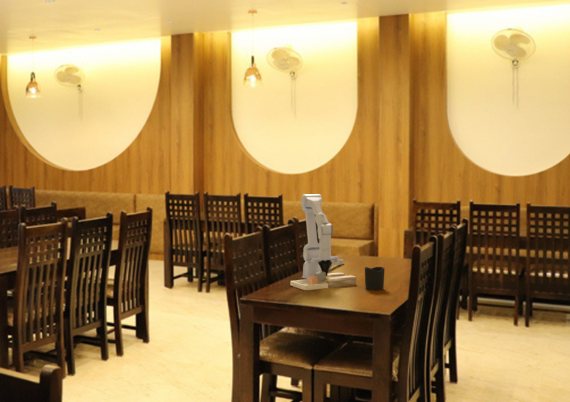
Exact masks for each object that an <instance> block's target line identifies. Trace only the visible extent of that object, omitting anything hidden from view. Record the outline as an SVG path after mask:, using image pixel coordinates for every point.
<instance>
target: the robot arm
mask: <svg viewBox="0 0 570 402" xmlns="http://www.w3.org/2000/svg"><path fill="white" fill-rule="evenodd" d="M300 202H301V210H302V212H304V215H305V223H306V235H307V244H305V245H304V247H303V249H302V250H303V252H302V256H303V260H304V261H305V262H304V263H303V266H302V268H303V270H302V271H303V272H302V276H301V278H302V279H304V280H305V279H308V277H309V276H314V273H315V272H320V271H322V272H325V273H326V276H327V274H329V271H330V270H329V268H330V266H331V264H332V262H331V261H334V260H339V256H337V255H334V256H333V255H332V236H333V234H334V228H333V225H332V223H330V222H329V220H328V217H327V215H326V214H325V213H324V212H323V209H322V203H323V197H322V195H321V194H320V193H318V194H317V193H316V194H315V193H314V194H312V193H311V194H305V193H303V194H302V195H301V200H300ZM318 241H319V242H318Z"/></svg>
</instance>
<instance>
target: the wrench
mask: <svg viewBox="0 0 570 402" xmlns="http://www.w3.org/2000/svg"><path fill="white" fill-rule="evenodd" d="M331 262H332V264H331V266H330V268H329V271H331V268H332V266H337V265H338V266H339V265H340V266H341V265H342V264H343V265H344V264H345V260H344V259H343V258H342V259H338V260H334V261H331Z"/></svg>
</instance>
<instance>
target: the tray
mask: <svg viewBox="0 0 570 402" xmlns="http://www.w3.org/2000/svg"><path fill="white" fill-rule="evenodd" d="M318 283H319V284H314V285H308V279H305V278H304V279H298V280H290V286H291V287H293V288H297V289H300V290H303V291H312V290H313V291H314V290H320V289H323V290H324V289H328V283H326V282H322V281H318Z"/></svg>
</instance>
